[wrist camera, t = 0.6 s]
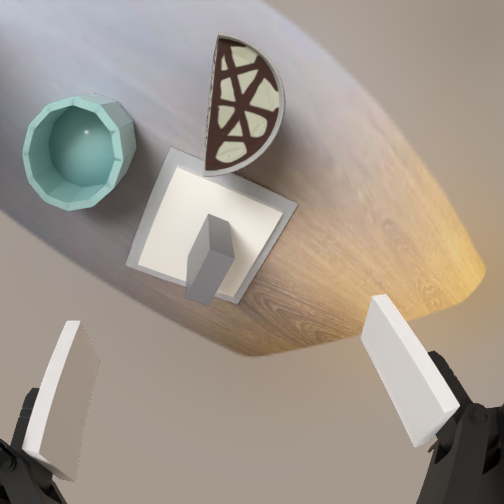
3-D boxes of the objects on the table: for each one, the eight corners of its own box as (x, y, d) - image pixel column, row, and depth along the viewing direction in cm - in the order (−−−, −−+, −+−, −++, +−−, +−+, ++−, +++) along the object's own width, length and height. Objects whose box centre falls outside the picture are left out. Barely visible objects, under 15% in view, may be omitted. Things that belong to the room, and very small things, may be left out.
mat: (125, 263, 37) (125, 265, 37) (171, 146, 31) (170, 147, 31) (237, 301, 43) (237, 303, 42) (296, 202, 37) (298, 204, 36)
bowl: (39, 172, 29) (15, 189, 24) (65, 84, 25) (40, 86, 20) (116, 202, 33) (102, 224, 28) (151, 113, 29) (139, 119, 24)
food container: (258, 159, 33) (279, 187, 25) (203, 155, 32) (202, 182, 24) (273, 51, 27) (301, 39, 19) (214, 45, 26) (218, 27, 18)
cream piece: (139, 260, 37) (125, 306, 29) (177, 164, 32) (168, 192, 24) (232, 292, 41) (240, 341, 34) (281, 209, 36) (302, 247, 29)
